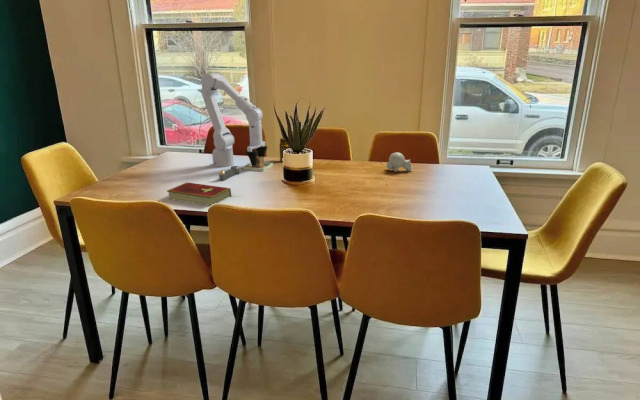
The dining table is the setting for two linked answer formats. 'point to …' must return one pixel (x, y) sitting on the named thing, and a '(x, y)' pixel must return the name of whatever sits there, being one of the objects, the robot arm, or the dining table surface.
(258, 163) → the block
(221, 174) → the crank
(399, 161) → the toy rhinoceros
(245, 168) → the tray
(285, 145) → the condiment
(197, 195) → the hardcover book
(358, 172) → the dining table surface
